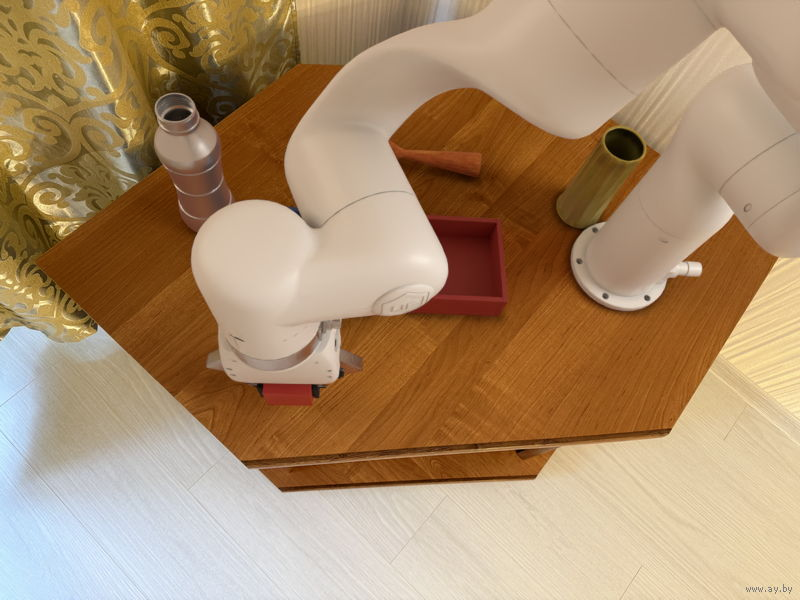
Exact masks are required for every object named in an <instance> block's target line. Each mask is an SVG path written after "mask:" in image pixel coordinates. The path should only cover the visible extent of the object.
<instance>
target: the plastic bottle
mask: <svg viewBox="0 0 800 600" xmlns="http://www.w3.org/2000/svg"><path fill="white" fill-rule="evenodd" d="M154 112H155V113H154V114H155V115H156V120H157V123H158V127H157V129H156V131H155V134H154V137H153V138H154V140H153V141H154V142H153V148H154V153H155V154H156V156H157V158H158V160H159V161H160V163H161V164H162V166H163V167H164V169H165V171H166V172H167V173H168V175H169V177H170V179H171V181H172V182H173V184H174V186H175V190H176V194H177V201H178V211H179V214H180V217H181V219H182V221H183V222H184V223H185V224H186V225H187V227H188V228H190V230H192V231H193V232H195V233H198V231H199V229H200V228H201V227H202V225H203V224H204V223H205V222H206V221H207V219H208V218H209V217H210V216H212V215H213V214H214V213H215V212H217V211H218V210H220V209H222V208H224V207H225V206H227V205H230V204H233V203H236V202H237V201H236V198H235V197H234V195H233V192H231V190H230V188H229V186H228V184H227V181H226V179H225V177H224V171H223V164H222V143H221V142H222V141H221V137H220V135H219V133H218V132H217V130H216V129H215V128H214V126H213V125H212V124H211V123H210V122H208V121H207V120H206V119H204V118H202V117H200V113H199V111H198V109H197V107H196V104H195V102H194V100H192V98H191V97H190V96H188V95H187V94H184V93H180V92H169V93H166V94H164V95H162V96H160V97H159V98H158V99H157V100H156V102H155V104H154Z"/></svg>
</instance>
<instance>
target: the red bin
mask: <svg viewBox="0 0 800 600" xmlns="http://www.w3.org/2000/svg"><path fill="white" fill-rule="evenodd" d="M425 215H426V217H427V219H428V221H429V223H430V224H431V226H432V228H433V230H434V232H435V234H436V236H437V238H438V240H439V242H440V244H441V246H442V248H443V251H444V253H445V256H446V258H447V263H448V276H447V279H446V282H445V284H444V286H443V288H442V289H441V290H440V291H439V292H438V293H437V294H436V295H435V296H434V297H432V298H431V299H430V300H429V301H428V302H427V303H425V304H424V305H422V306H421V307H419V308H417V309H415V310H412V311H410V312H407V313H408V314H428V315H429V314H430V315H451V316H452V315H456V316H479V317H480V316H481V317H482V316H483V317H499V316H500V314H501V313H502V312H503V310H504V309H505V307H506V305H507V304H508V303H509V294H508V284H507V283H508V282H507V271H506V259H505V249H504V235H503V223H502V218H492V217H477V216H476V217H473V216H472V217H471V216H455V215H441V214H440V215H439V214H425Z"/></svg>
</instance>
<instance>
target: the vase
mask: <svg viewBox="0 0 800 600" xmlns="http://www.w3.org/2000/svg"><path fill="white" fill-rule="evenodd" d="M646 154H647V144H646V141H645V139H644V138H643V136H642V135H641V134H640V133H639V132H638V131H636V130H635V129H633V128H632V127H629V126H626V125H614V126H611V127H609V128H607V129H606V131H604V132H603V134H602V135H601V137H600V139H599V140H598V141H597V143H596V144H595V145H594V148H592V150H591V152H590V153H589V155H588V156H587V157H586V159H585V160H584V161H583V163H582V164H581V165H580V167H579V168H578V170H577V172H576V173H575V175H574V176H573V178H571V180H570V182H569V183H568V185H567V186H566V187H565V189H564V191H563V192H562V193H560V195H559V196H558V197H557V199H556V203H555V208H556V209H555V210H556V212H557V215H558V216H559V218H560V219H561V220H562V222H563V223H565V224H566V225H568V226H569V227H571V228H575V229H579V230H586V229H587V228H588V227H590V226H592V225H594V224H597V223H598V221H599V220H600V219H601V216H602V214H603V213H604V211H605V210H606V209H607V207H608V206H609V204H610V203H611V201H612V200H613V198H614V197H615V195H616V194H617V193H618V191H619V190H620V189H621V188H622V186H623V185H624V183H625V182H626V180H627V179H628V178H629V176H631V174H632V172H633V171H634V170H635V169H636V168H637V166H638V165H639V164H640V162H641V161H642V160H643V159H644V158H645V156H646Z"/></svg>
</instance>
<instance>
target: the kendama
mask: <svg viewBox="0 0 800 600" xmlns="http://www.w3.org/2000/svg"><path fill="white" fill-rule="evenodd" d="M388 143H389V145H390V147H391V148H392V150H393V152H394V154H395V156H396V159H397V160H401V159H405V160H409V161H412V162H416V163H419V164H423V165H427V166H431V167H434V168H438V169H443V170H446V171H450V172H454V173H457V174H461V175H465V176H468V177H472V178H478V177H479V174H480V173H481V169H482V163H483V155H482V152H477V151H455V150H454V151H450V150H429V149H427V150H425V149H405V148H402V147H401V146H400V145H398V144H396V142H393V141H391V139H389V141H388Z"/></svg>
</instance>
